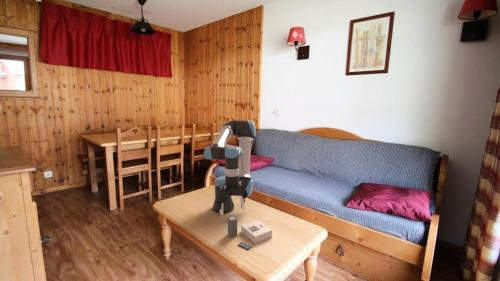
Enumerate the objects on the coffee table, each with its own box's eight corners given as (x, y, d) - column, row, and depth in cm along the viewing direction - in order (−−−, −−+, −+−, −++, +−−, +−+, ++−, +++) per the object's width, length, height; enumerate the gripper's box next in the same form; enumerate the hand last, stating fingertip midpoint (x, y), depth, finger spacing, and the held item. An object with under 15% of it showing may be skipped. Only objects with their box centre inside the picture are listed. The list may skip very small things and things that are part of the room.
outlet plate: (241, 231, 145) (241, 225, 144) (257, 225, 151) (257, 219, 150) (255, 243, 133) (255, 236, 132) (271, 236, 140) (272, 229, 139)
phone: (237, 246, 131) (237, 244, 131) (241, 243, 134) (241, 241, 134) (248, 251, 127) (248, 249, 127) (252, 247, 130) (252, 246, 130)
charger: (227, 234, 142) (227, 218, 140) (233, 232, 144) (233, 216, 142) (231, 237, 138) (231, 220, 137) (237, 235, 141) (237, 218, 139)
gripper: (214, 181, 125) (215, 219, 128) (254, 173, 139) (253, 208, 142) (208, 177, 131) (209, 214, 134) (247, 169, 145) (246, 203, 148)
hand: (232, 211), depth 138 cm, fingers open, 13 cm apart
